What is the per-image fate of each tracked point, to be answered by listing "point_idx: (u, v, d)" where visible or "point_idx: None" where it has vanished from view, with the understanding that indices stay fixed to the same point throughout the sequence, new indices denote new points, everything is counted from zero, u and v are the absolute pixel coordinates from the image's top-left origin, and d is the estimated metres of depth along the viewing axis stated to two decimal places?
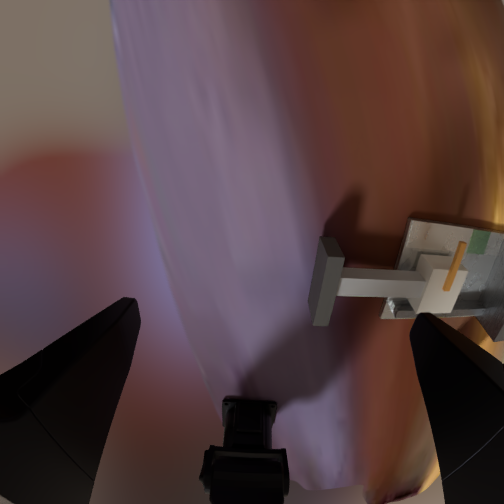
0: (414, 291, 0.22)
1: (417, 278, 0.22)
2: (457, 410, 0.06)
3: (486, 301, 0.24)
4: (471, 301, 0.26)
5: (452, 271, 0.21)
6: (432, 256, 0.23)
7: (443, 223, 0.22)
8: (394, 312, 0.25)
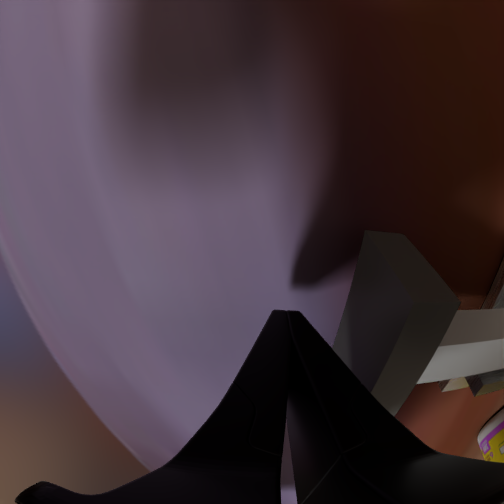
0: None
1: None
2: (301, 430, 0.06)
3: None
4: None
5: None
6: None
7: None
8: (474, 385, 0.10)
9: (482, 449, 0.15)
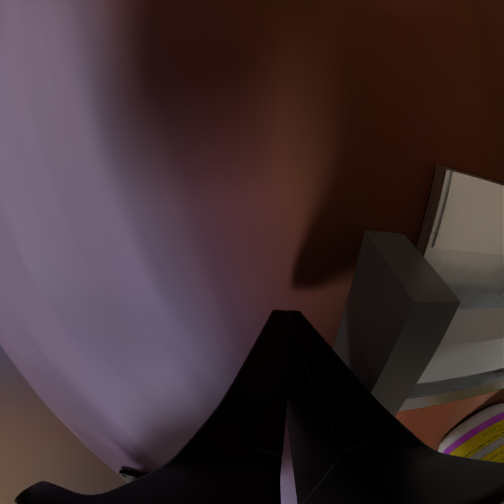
0: None
1: None
2: (301, 430, 0.06)
3: None
4: None
5: None
6: None
7: None
8: None
9: None
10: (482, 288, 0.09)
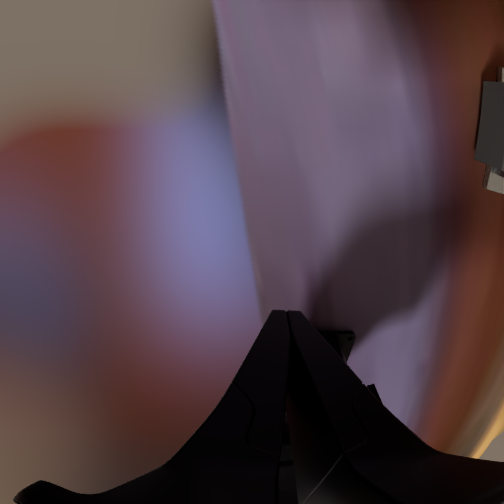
0: None
1: None
2: (302, 430, 0.06)
3: None
4: None
5: None
6: None
7: None
8: None
9: None
10: None
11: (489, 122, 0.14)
